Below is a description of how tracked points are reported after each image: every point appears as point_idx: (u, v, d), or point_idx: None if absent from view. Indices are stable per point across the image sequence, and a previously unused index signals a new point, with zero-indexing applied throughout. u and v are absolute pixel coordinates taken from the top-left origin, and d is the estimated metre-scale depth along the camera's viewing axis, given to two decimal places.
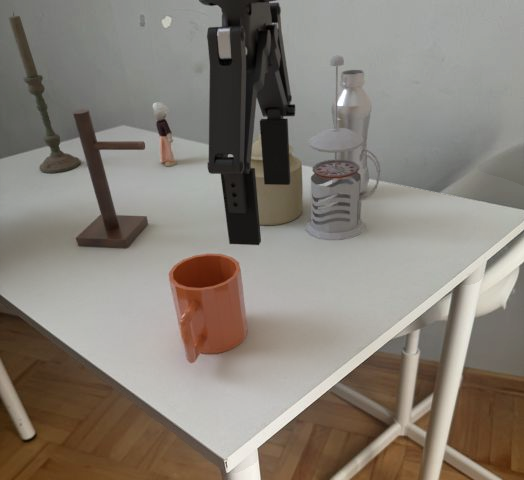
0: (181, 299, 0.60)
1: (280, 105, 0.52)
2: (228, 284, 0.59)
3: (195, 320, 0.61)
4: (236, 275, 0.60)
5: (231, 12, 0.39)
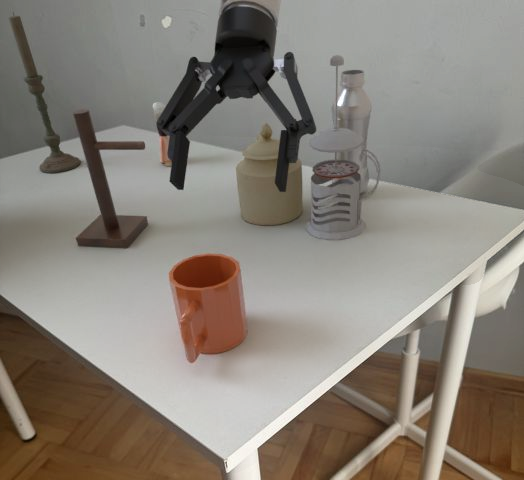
0: (181, 299, 0.60)
1: (191, 128, 0.69)
2: (228, 284, 0.59)
3: (195, 320, 0.61)
4: (236, 275, 0.60)
5: (272, 53, 0.66)
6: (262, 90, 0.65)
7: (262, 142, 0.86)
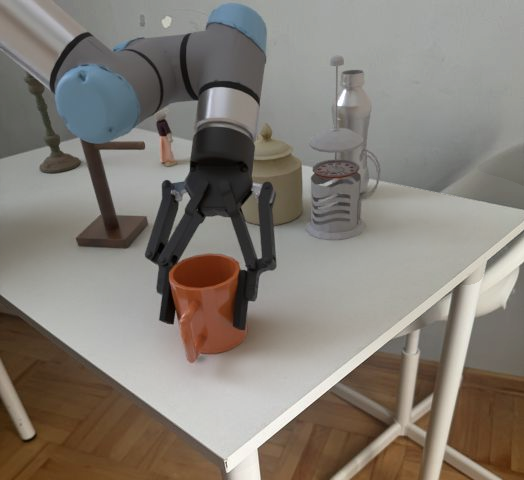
0: (181, 299, 0.60)
1: (180, 255, 0.65)
2: (228, 284, 0.59)
3: (195, 320, 0.61)
4: (236, 275, 0.60)
5: (250, 173, 0.63)
6: (232, 217, 0.62)
7: (262, 142, 0.86)
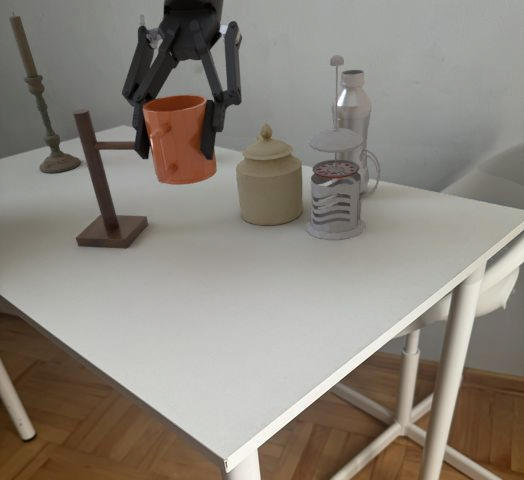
0: (153, 125, 0.66)
1: (154, 96, 0.71)
2: (195, 109, 0.65)
3: (166, 147, 0.67)
4: (203, 103, 0.66)
5: (218, 17, 0.69)
6: (200, 54, 0.67)
7: (262, 142, 0.86)
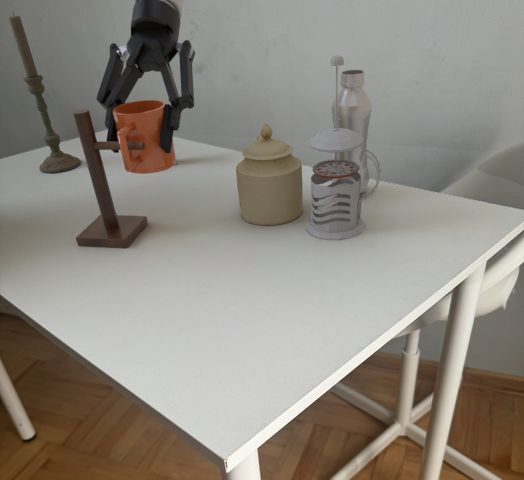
0: (121, 125, 0.81)
1: (123, 101, 0.86)
2: (155, 112, 0.80)
3: None
4: (162, 107, 0.81)
5: (175, 36, 0.84)
6: (160, 67, 0.83)
7: (262, 142, 0.86)
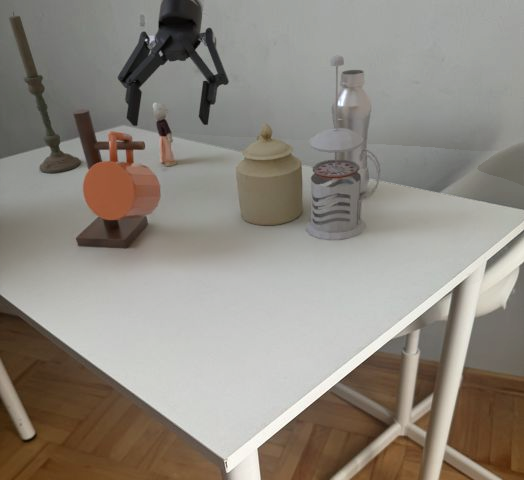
0: None
1: (142, 82, 0.97)
2: (155, 176, 0.84)
3: None
4: (159, 187, 0.85)
5: (198, 29, 0.95)
6: (190, 54, 0.93)
7: (262, 142, 0.86)
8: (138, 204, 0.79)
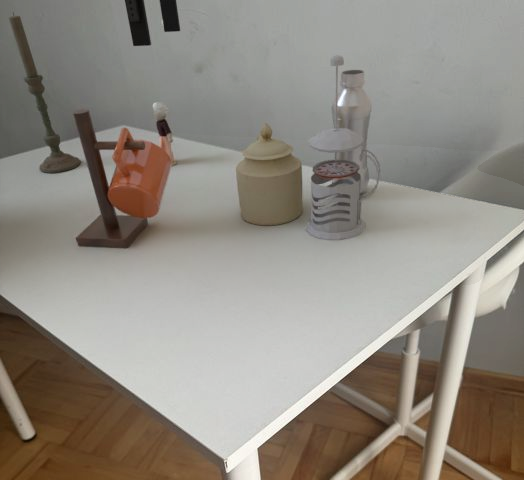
0: None
1: None
2: (161, 149, 0.85)
3: (128, 160, 0.83)
4: (168, 155, 0.87)
5: None
6: None
7: (262, 142, 0.86)
8: (161, 200, 0.87)
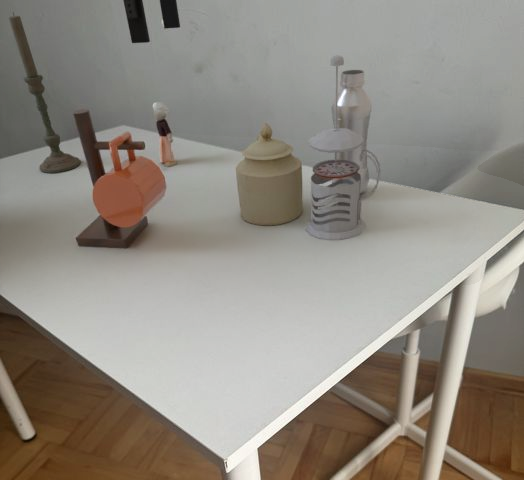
0: (123, 161, 0.84)
1: None
2: (159, 168, 0.85)
3: (123, 164, 0.82)
4: (164, 178, 0.86)
5: None
6: None
7: (262, 142, 0.86)
8: (147, 209, 0.82)
